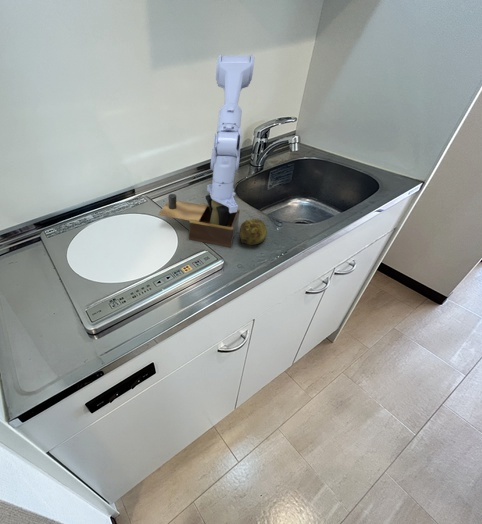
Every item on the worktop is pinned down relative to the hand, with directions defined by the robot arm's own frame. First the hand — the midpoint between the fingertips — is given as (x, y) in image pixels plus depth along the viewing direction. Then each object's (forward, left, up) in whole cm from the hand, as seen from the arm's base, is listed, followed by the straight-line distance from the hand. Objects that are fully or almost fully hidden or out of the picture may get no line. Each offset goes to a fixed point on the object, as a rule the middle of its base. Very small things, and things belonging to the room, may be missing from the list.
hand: (218, 222), depth 84 cm
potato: (0, +11, -4) cm, 12 cm away
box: (0, -1, -4) cm, 4 cm away
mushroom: (0, 0, -3) cm, 3 cm away
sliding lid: (0, -11, +2) cm, 11 cm away
